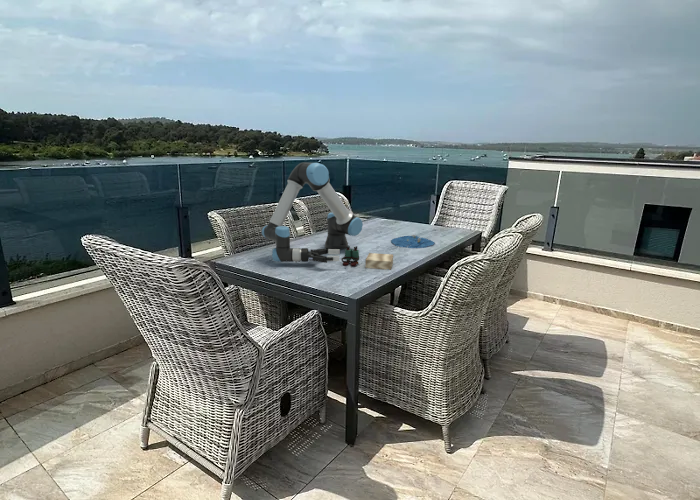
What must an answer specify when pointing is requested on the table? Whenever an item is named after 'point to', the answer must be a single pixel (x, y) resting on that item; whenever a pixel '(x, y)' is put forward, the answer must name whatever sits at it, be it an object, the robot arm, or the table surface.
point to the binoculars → (351, 256)
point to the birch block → (379, 261)
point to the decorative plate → (412, 242)
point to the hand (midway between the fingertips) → (339, 255)
